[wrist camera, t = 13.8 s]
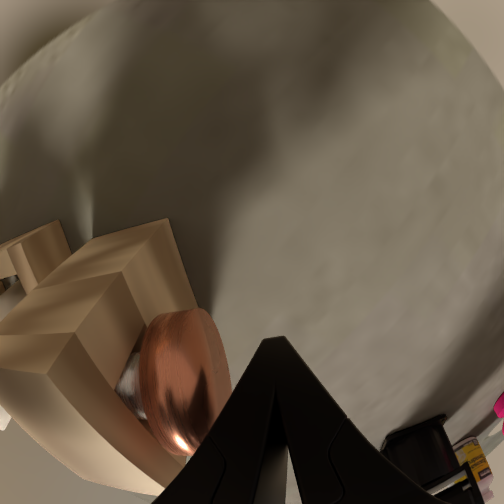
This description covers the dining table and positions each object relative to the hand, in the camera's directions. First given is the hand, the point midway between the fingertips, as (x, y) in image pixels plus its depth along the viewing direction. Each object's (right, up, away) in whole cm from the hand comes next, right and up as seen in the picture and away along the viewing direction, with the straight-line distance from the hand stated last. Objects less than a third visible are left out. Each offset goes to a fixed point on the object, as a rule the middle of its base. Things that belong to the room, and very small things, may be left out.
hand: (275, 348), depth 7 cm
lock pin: (-6, -1, +1) cm, 6 cm away
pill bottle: (+28, -25, +17) cm, 41 cm away
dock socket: (-10, 0, +6) cm, 12 cm away
